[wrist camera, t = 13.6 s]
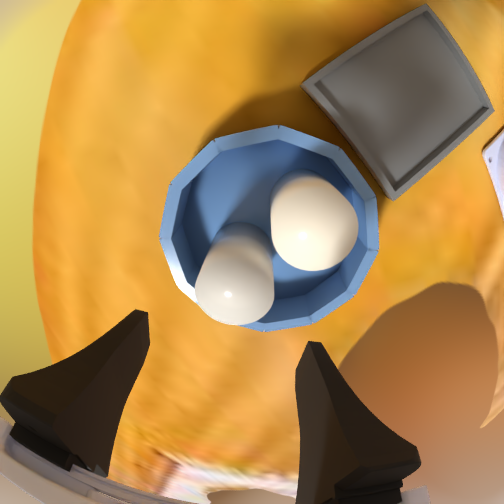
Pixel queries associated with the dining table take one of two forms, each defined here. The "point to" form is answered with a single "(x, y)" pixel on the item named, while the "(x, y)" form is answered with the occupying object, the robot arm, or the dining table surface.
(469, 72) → the tray
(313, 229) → the white rounded capsule
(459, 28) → the dining table surface
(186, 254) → the bowl
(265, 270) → the cylinder
